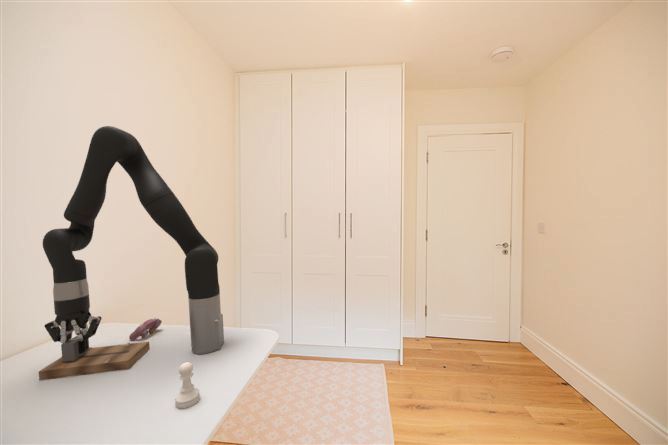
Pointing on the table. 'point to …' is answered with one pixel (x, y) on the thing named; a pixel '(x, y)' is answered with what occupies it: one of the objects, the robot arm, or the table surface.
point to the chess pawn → (186, 388)
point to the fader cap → (71, 350)
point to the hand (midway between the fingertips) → (76, 352)
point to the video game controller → (145, 328)
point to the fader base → (97, 361)
